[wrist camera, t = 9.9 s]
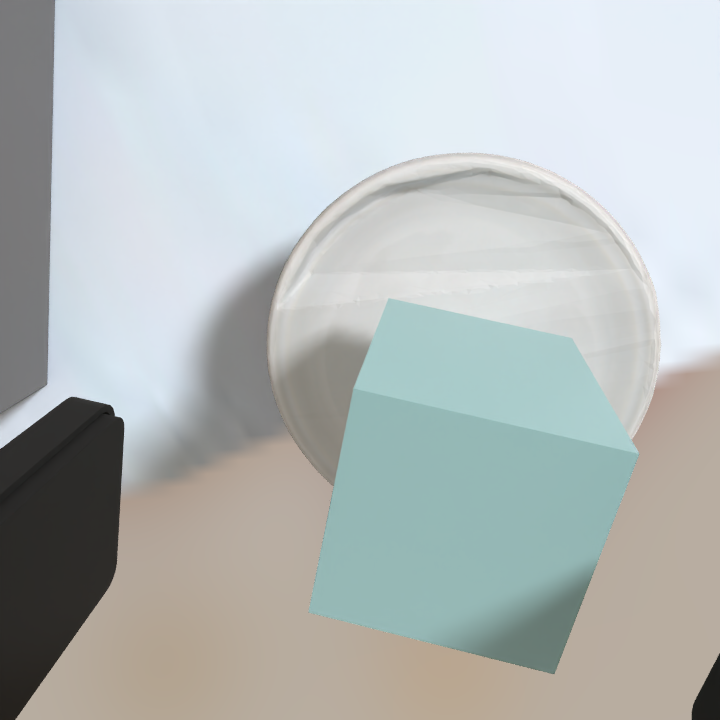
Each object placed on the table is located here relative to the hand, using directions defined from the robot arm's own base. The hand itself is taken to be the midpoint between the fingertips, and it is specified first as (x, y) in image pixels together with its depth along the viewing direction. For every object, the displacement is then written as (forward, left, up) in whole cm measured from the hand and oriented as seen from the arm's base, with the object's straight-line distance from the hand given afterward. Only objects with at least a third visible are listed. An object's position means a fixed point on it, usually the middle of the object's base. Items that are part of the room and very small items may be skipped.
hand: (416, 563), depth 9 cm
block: (0, +1, -9) cm, 9 cm away
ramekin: (0, +1, -15) cm, 15 cm away
